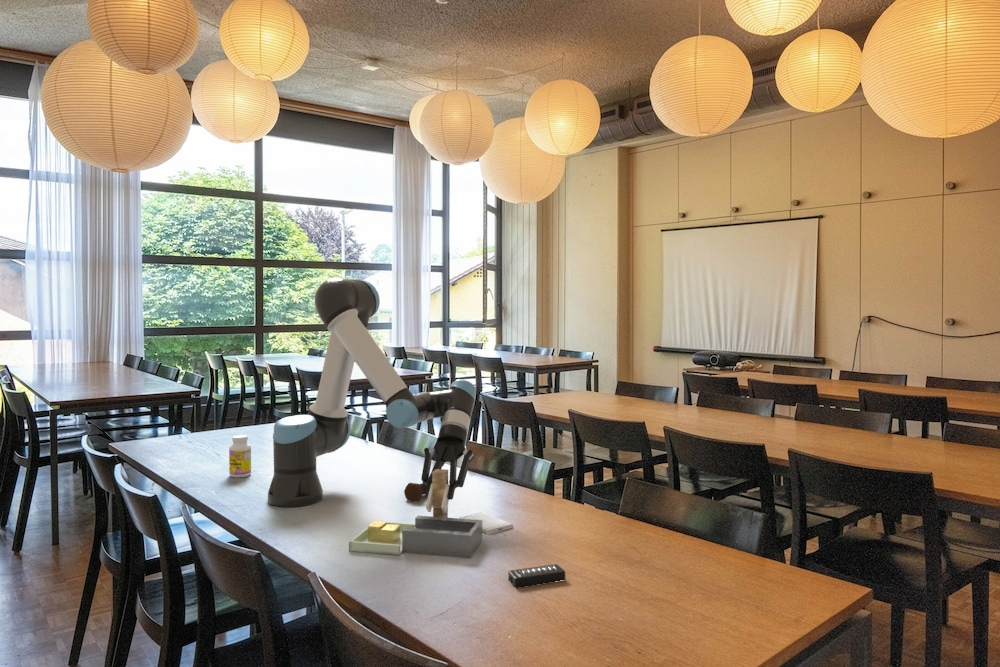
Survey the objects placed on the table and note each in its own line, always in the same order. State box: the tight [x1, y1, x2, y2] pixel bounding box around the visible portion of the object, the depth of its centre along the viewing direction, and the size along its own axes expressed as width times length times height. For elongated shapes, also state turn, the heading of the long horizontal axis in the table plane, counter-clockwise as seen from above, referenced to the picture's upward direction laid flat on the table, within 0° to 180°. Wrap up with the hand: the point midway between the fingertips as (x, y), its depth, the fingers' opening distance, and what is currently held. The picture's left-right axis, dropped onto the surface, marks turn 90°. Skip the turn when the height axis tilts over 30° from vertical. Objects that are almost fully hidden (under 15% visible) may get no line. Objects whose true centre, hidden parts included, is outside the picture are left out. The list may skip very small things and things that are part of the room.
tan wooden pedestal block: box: [431, 468, 449, 518], centre depth 172 cm, size 3×4×13 cm
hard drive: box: [457, 511, 514, 535], centre depth 173 cm, size 2×8×12 cm
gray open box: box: [402, 515, 483, 559], centre depth 157 cm, size 16×11×5 cm
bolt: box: [403, 482, 427, 502], centre depth 200 cm, size 6×5×15 cm
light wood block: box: [367, 520, 387, 542], centre depth 161 cm, size 4×4×3 cm
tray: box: [348, 521, 415, 556], centre depth 160 cm, size 12×15×2 cm
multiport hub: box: [507, 563, 566, 589], centre depth 138 cm, size 4×11×2 cm, turn 110°
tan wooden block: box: [380, 524, 400, 543], centre depth 160 cm, size 4×4×3 cm
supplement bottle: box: [228, 434, 252, 479], centre depth 221 cm, size 7×7×13 cm
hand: (435, 509), depth 168 cm, fingers closed on tan wooden pedestal block, 3 cm apart
